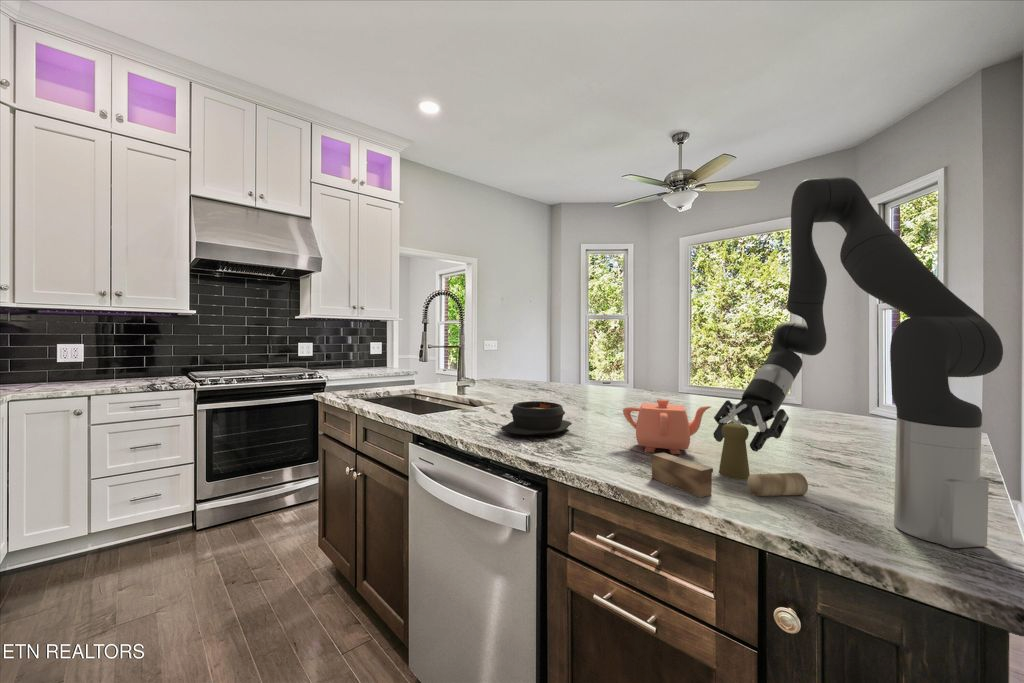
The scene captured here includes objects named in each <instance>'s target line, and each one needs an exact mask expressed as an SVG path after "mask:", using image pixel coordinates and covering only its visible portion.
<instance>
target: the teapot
mask: <svg viewBox="0 0 1024 683" xmlns="http://www.w3.org/2000/svg"><path fill="white" fill-rule="evenodd" d="M669 402H670V400H668V399H656V403H645V402H643V403H641V404H640V407H634V406H627V407H624V408H623V409H622V412H623V414H622V415H624V418H625V419H626V420H627V422H628V423H629V424H630V426H631V427H633V428H634V429H635V438H636V441H637V444H638V446H640V447H645V448H644V450H643V452H645V451H646V452H645V453H648V452H654V453H656V452H655V451H656V449H667V450H669V453H670V454H671V453H672V454H671V455H673V454H681V455H682V453H681V450H688V449H689V447H690V443H691V436H694V435H695V434H696V433H698V431H699V429H700V427H701V424H702V419H703V415H704V413H705V412H706V411H707V410H708V409H710V408H712V407H713V406H711V405H707V406H706V405H705V406H700V407H699V408H698V409H697V410H696V413H695V416H694V419H692V421H691V422H689V418H688V413H687V410H686V408H685V407H684V405H678V404H669ZM632 412H638V415H637V419H636V422H635V421H634V419H633V416H632V414H631V413H632Z"/></svg>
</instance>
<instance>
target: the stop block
mask: <svg viewBox="0 0 1024 683" xmlns="http://www.w3.org/2000/svg"><path fill="white" fill-rule="evenodd" d="M651 454H652V456H651V457H652V458H651V479H653V478H654V479H653V480H655V479H656V481H658V482H660V481H661V483H663V484H665V483H666V484H665V485H668V484H669V485H668V486H670V485H672V486H671V487H673V486H674V487H673V488H675V487H677V488H676V489H678V488H679V489H678V490H680V489H682V490H681V491H683V490H684V491H683V492H685V491H687V492H686V493H688V492H689V493H688V494H690V493H691V494H690V495H693V496H695V495H696V496H695V497H698V498H705V497H704V496H706V497H709V495H710V496H712V489H713V488H712V484H713V483H712V482H713V481H712V480H713V479H712V478H713V477H712V476H713V473H714V468H713V467H709V466H707V465H704V464H700V463H697V462H695V461H691V460H688V459H686V458H682V457H679V456H677V455H673V454H671V453H670V454H669V453H666V452H659V453H651Z"/></svg>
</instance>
